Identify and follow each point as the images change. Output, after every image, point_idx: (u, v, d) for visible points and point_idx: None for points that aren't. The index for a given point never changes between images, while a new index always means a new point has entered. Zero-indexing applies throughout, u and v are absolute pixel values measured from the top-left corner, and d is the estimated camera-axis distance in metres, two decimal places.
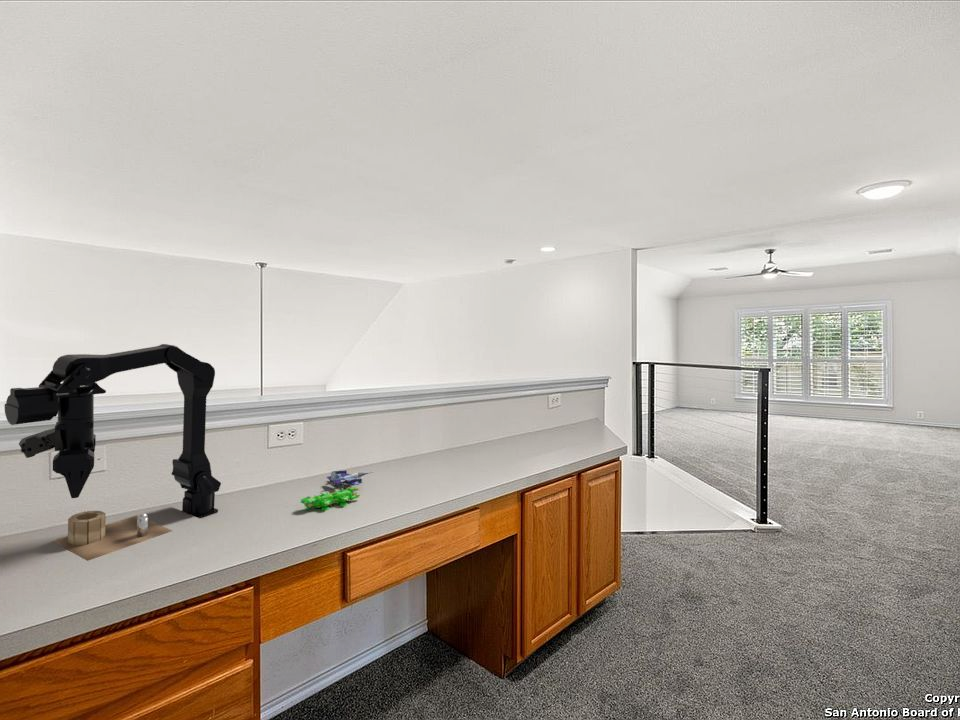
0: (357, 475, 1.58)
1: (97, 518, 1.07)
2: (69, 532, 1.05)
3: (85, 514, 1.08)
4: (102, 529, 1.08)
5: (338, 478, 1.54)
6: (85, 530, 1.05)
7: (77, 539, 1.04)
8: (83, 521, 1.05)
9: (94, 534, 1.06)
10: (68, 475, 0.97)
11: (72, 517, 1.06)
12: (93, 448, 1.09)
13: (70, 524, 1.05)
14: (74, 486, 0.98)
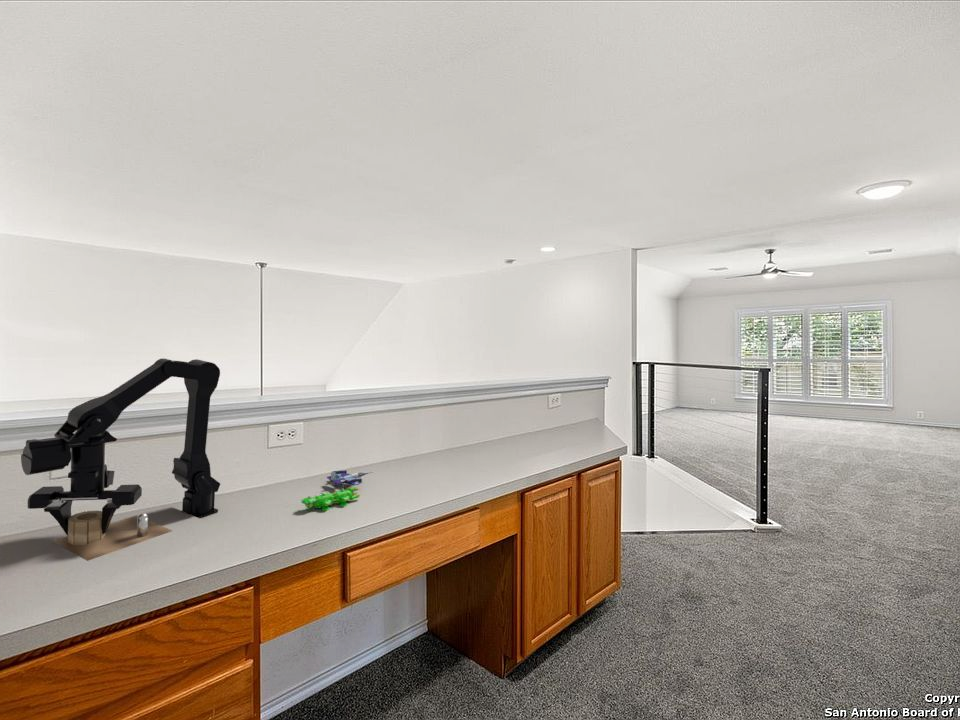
0: (357, 475, 1.58)
1: (97, 518, 1.07)
2: (69, 532, 1.05)
3: (85, 514, 1.08)
4: None
5: (338, 478, 1.54)
6: (85, 530, 1.05)
7: (77, 539, 1.04)
8: (83, 521, 1.05)
9: (94, 534, 1.06)
10: None
11: (72, 517, 1.06)
12: (107, 507, 1.06)
13: (70, 524, 1.05)
14: None
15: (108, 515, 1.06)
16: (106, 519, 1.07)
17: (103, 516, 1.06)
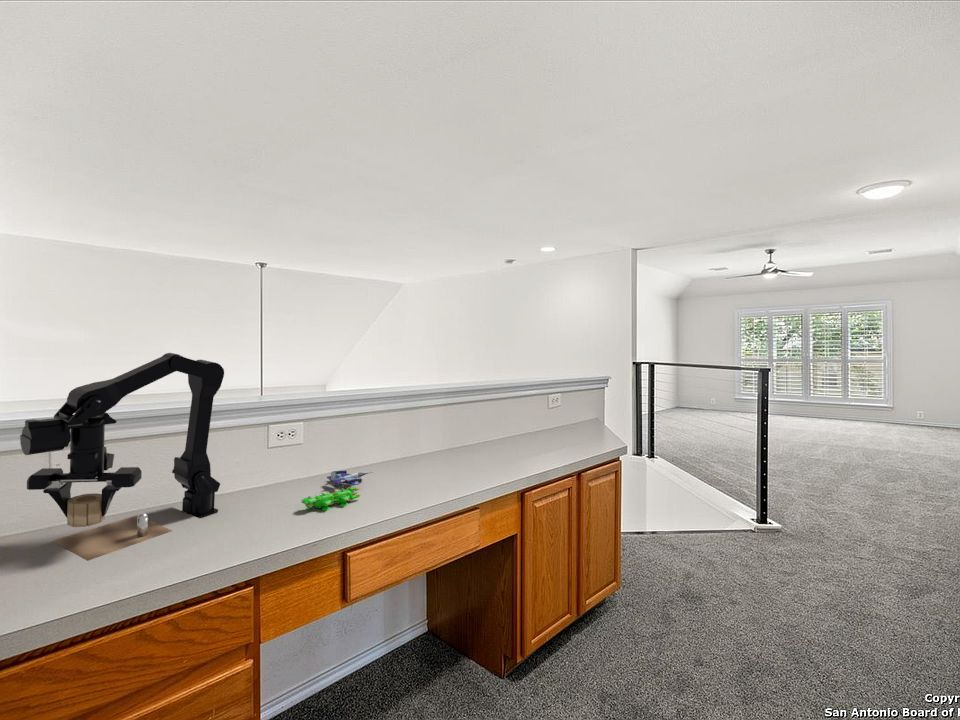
0: (357, 475, 1.58)
1: (97, 500, 1.06)
2: (68, 514, 1.04)
3: (85, 497, 1.08)
4: None
5: (338, 478, 1.54)
6: (84, 512, 1.04)
7: (76, 521, 1.04)
8: (82, 503, 1.04)
9: (94, 516, 1.06)
10: None
11: (71, 499, 1.06)
12: (106, 489, 1.05)
13: (69, 506, 1.04)
14: None
15: (108, 497, 1.06)
16: (106, 501, 1.06)
17: (103, 498, 1.06)
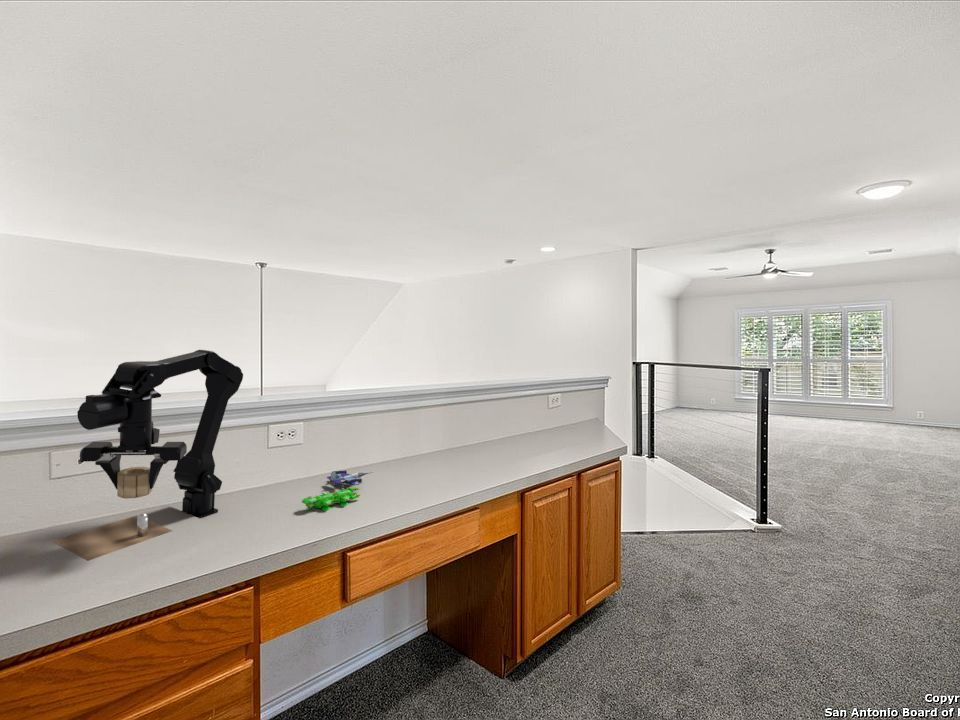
0: (357, 475, 1.58)
1: (145, 473, 1.09)
2: (118, 486, 1.07)
3: (133, 470, 1.11)
4: None
5: (338, 478, 1.54)
6: (134, 484, 1.07)
7: (126, 493, 1.07)
8: (132, 475, 1.07)
9: (142, 488, 1.08)
10: None
11: (121, 472, 1.08)
12: (154, 462, 1.08)
13: (119, 478, 1.07)
14: None
15: (156, 470, 1.08)
16: (154, 474, 1.09)
17: (151, 471, 1.08)
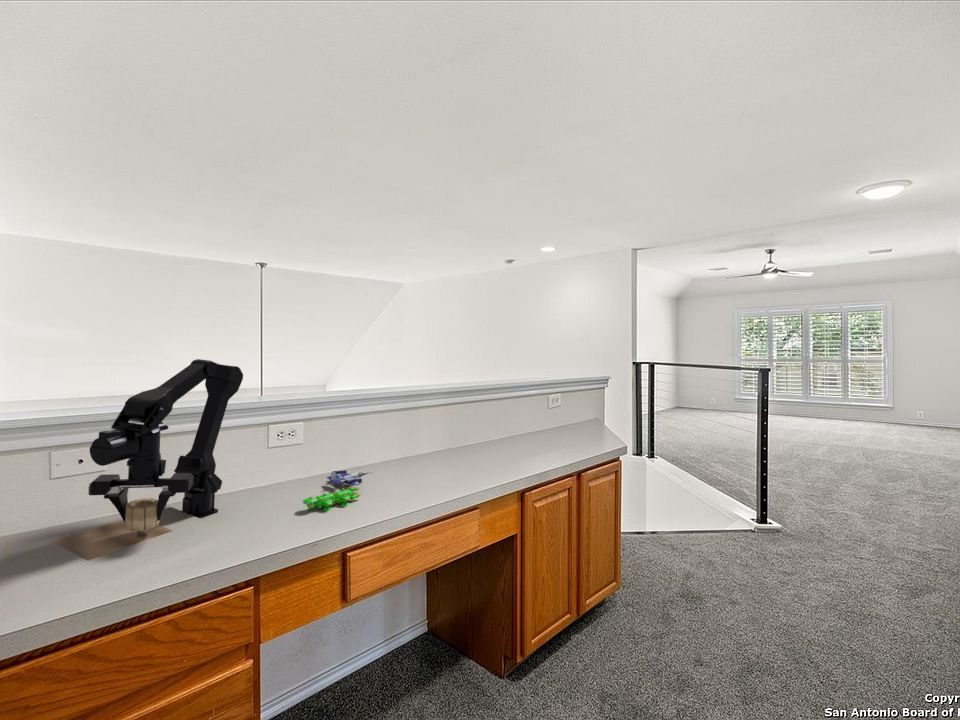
0: (357, 475, 1.58)
1: (153, 505, 1.10)
2: (127, 518, 1.08)
3: (140, 501, 1.12)
4: None
5: (338, 478, 1.54)
6: (142, 516, 1.08)
7: (135, 525, 1.08)
8: (140, 508, 1.08)
9: (150, 520, 1.09)
10: None
11: (129, 504, 1.09)
12: (163, 494, 1.09)
13: (128, 511, 1.08)
14: None
15: (164, 502, 1.10)
16: (162, 506, 1.10)
17: (159, 503, 1.10)
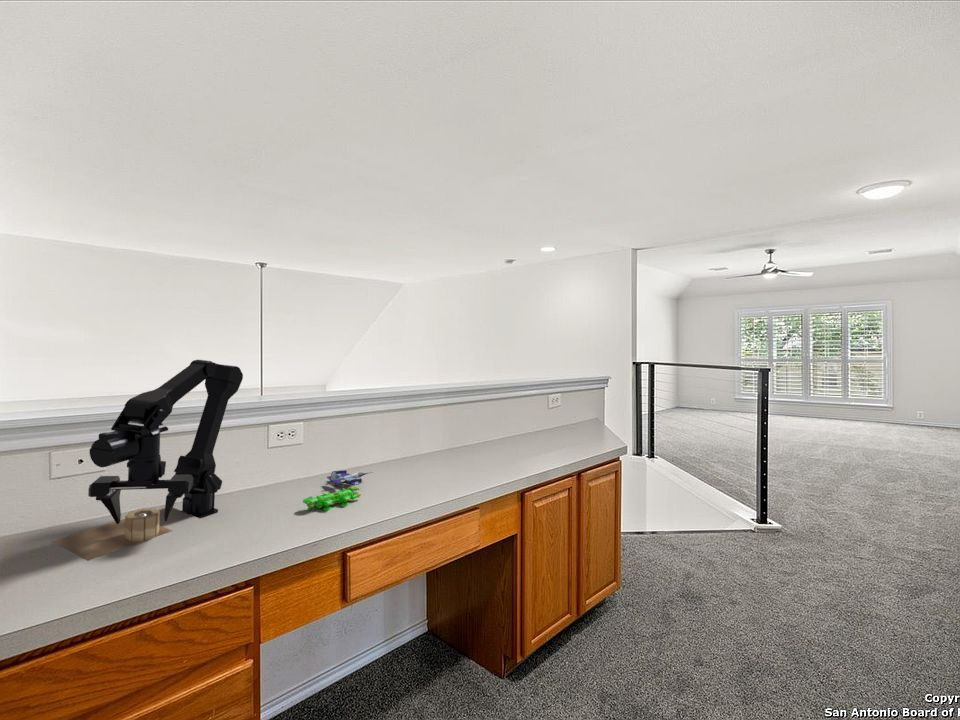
0: (357, 475, 1.58)
1: (153, 515, 1.10)
2: (126, 529, 1.08)
3: (140, 511, 1.12)
4: (157, 526, 1.11)
5: (338, 478, 1.54)
6: (142, 527, 1.08)
7: (134, 535, 1.08)
8: (140, 518, 1.08)
9: (150, 531, 1.10)
10: None
11: (129, 514, 1.10)
12: (170, 495, 1.10)
13: (127, 521, 1.08)
14: None
15: (171, 503, 1.10)
16: (169, 507, 1.11)
17: (166, 504, 1.10)
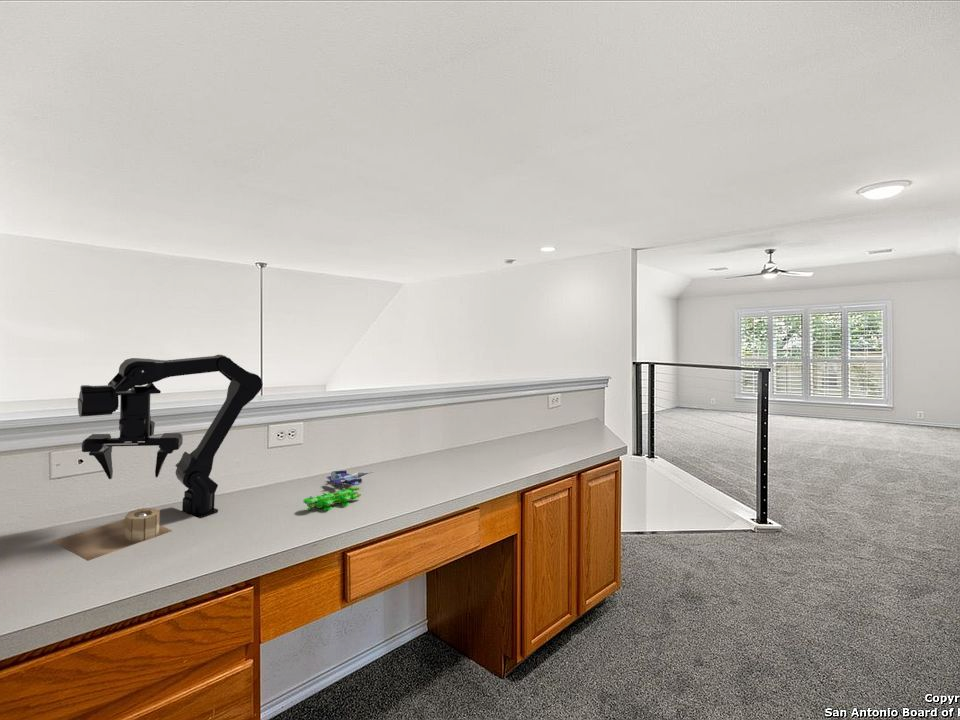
0: (357, 475, 1.58)
1: (153, 515, 1.10)
2: (126, 529, 1.08)
3: (140, 511, 1.12)
4: (157, 526, 1.11)
5: (338, 478, 1.54)
6: (142, 527, 1.08)
7: (134, 535, 1.08)
8: (140, 518, 1.08)
9: (150, 531, 1.10)
10: None
11: (129, 514, 1.10)
12: (161, 451, 1.16)
13: (127, 521, 1.08)
14: None
15: (162, 459, 1.16)
16: (160, 463, 1.17)
17: (157, 460, 1.16)
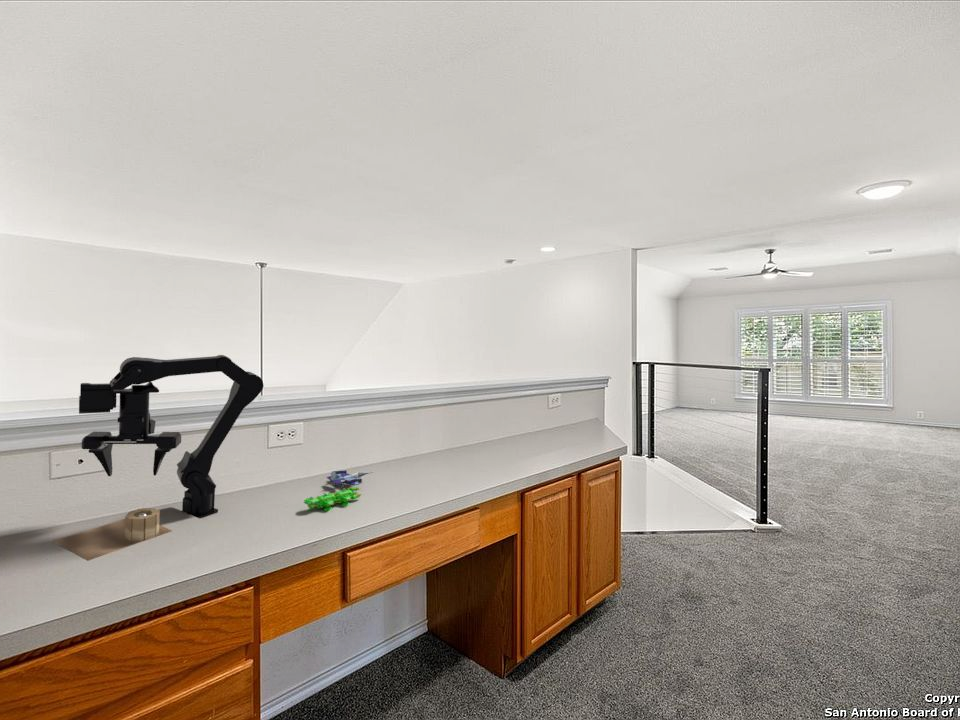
0: (357, 475, 1.58)
1: (153, 515, 1.10)
2: (126, 529, 1.08)
3: (140, 511, 1.12)
4: (157, 526, 1.11)
5: (338, 478, 1.54)
6: (142, 527, 1.08)
7: (134, 535, 1.08)
8: (140, 518, 1.08)
9: (150, 531, 1.10)
10: None
11: (129, 514, 1.10)
12: (159, 450, 1.17)
13: (127, 521, 1.08)
14: None
15: (159, 457, 1.17)
16: (158, 461, 1.18)
17: (155, 458, 1.17)
